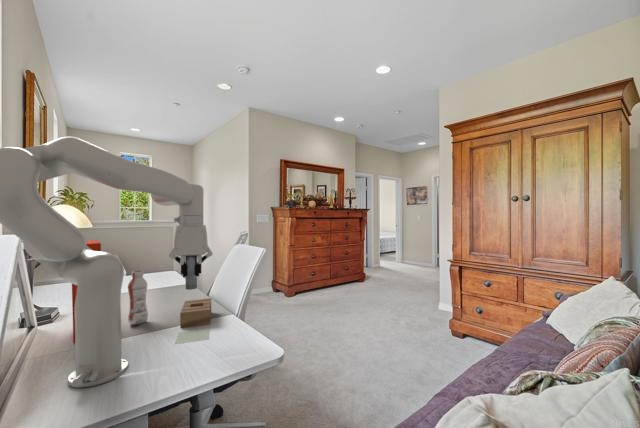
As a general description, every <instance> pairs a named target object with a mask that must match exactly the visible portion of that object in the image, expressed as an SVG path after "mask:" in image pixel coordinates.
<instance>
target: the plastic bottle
mask: <svg viewBox="0 0 640 428" xmlns="http://www.w3.org/2000/svg"><path fill="white" fill-rule="evenodd" d="M147 291H148V282H147V280H145V278H144V270H135V271H134V270H133V271H131V280H130V281H129V283H128V284H127V292H128V296H129V311H128V318H127V320H128V324H130V325H131V326H139V325H142V324H145V323H146V322H147V321H148V319H149V312H148V309H147V306H148V305H147Z"/></svg>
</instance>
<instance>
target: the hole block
mask: <svg viewBox="0 0 640 428" xmlns="http://www.w3.org/2000/svg"><path fill="white" fill-rule="evenodd" d="M179 317H180V318H179V319H180V322H179V323H180V325H179V327H180V329H184V328H185V329H186V328H194V327H201V326H210V325H211V321H212V320H211V319H212V298H209V297H208V298H201V299H191V300H184V303H183V305H182V307H181V310H180V312H179Z"/></svg>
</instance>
